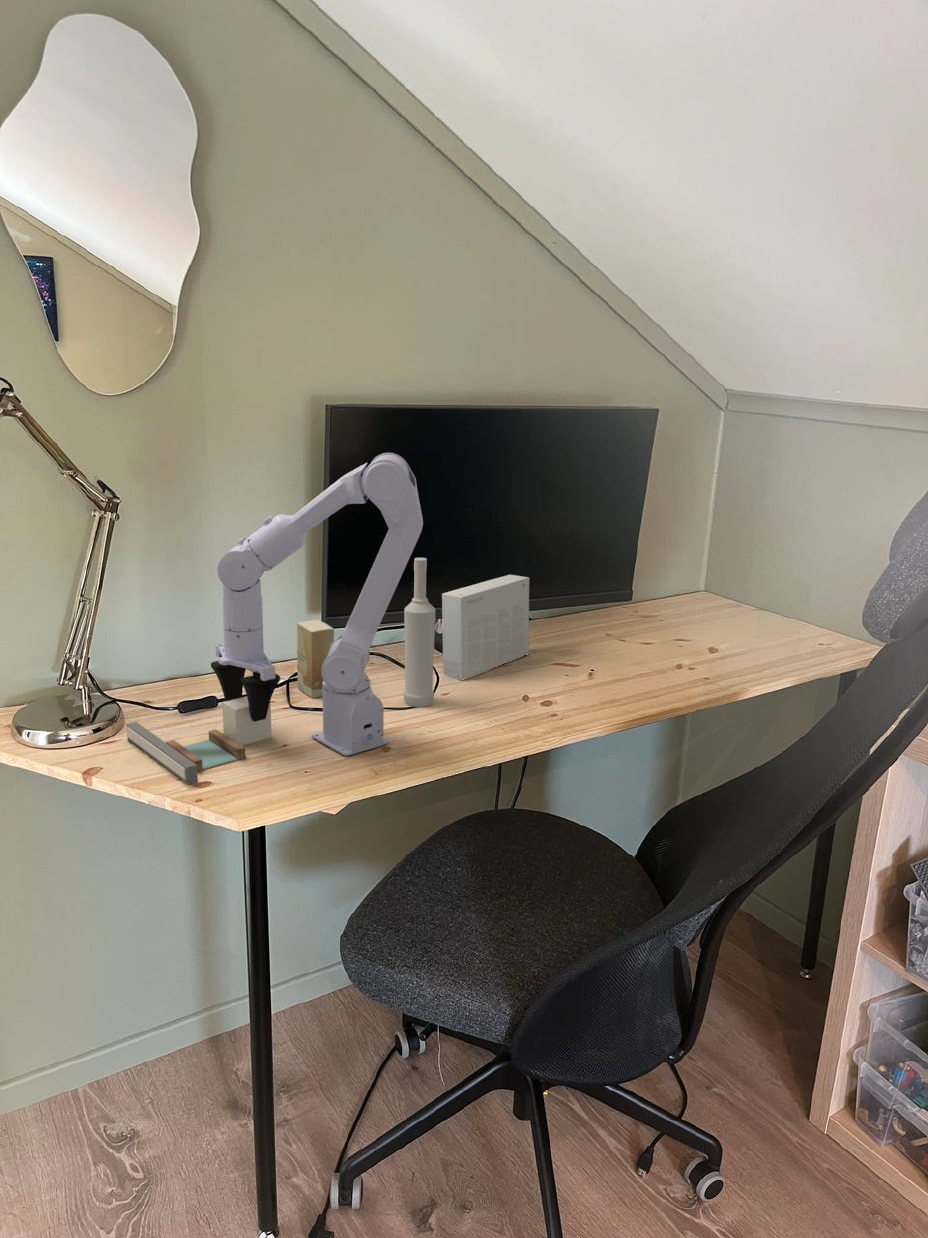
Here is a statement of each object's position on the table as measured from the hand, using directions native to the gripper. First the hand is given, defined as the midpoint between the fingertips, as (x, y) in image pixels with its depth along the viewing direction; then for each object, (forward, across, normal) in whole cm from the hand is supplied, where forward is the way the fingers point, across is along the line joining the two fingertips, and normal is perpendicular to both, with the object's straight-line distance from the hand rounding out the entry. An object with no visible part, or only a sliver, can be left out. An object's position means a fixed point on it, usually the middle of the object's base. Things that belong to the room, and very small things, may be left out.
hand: (246, 712), depth 148 cm
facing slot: (+4, +2, -8) cm, 9 cm away
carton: (+4, 0, 0) cm, 4 cm away
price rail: (+4, 0, -14) cm, 14 cm away
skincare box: (+4, -11, +20) cm, 23 cm away
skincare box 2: (+4, -4, +54) cm, 54 cm away
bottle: (+4, +4, +31) cm, 31 cm away
